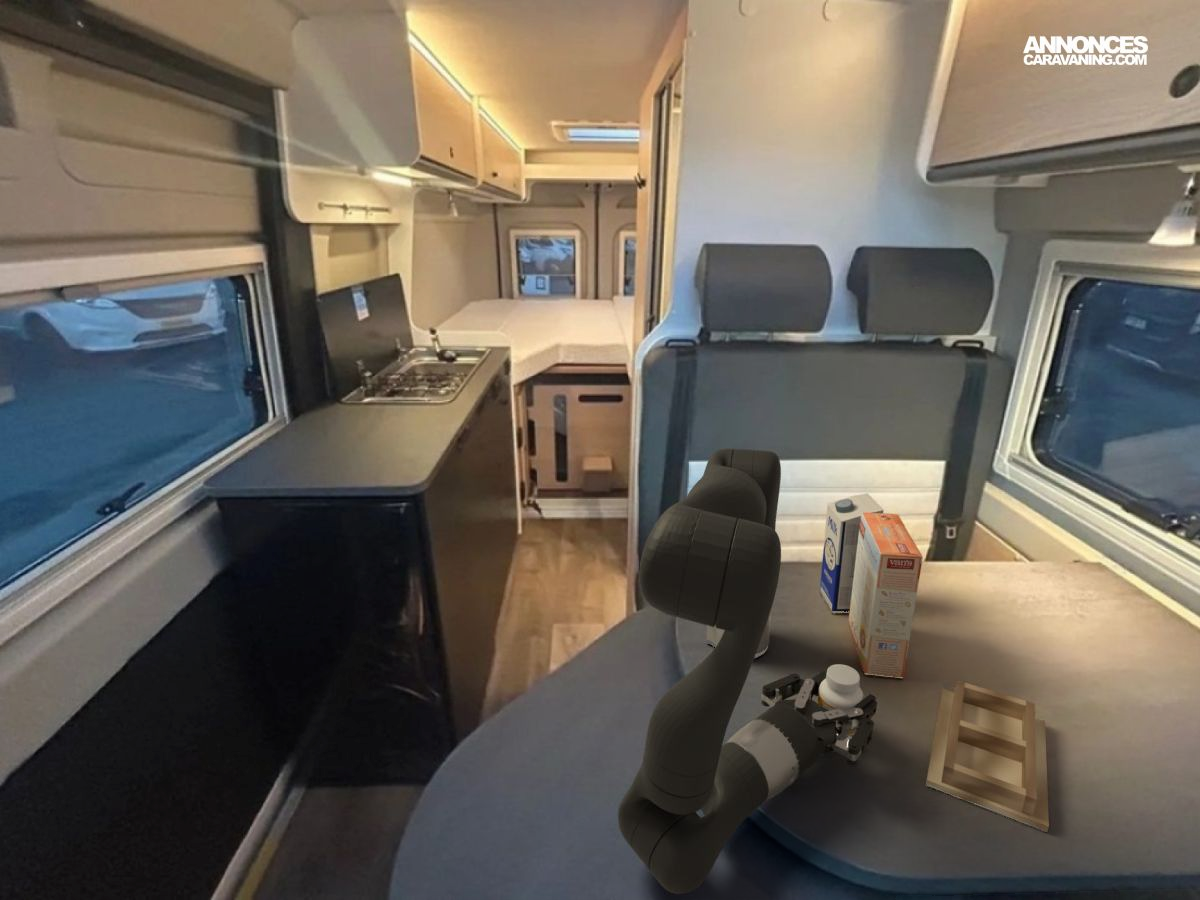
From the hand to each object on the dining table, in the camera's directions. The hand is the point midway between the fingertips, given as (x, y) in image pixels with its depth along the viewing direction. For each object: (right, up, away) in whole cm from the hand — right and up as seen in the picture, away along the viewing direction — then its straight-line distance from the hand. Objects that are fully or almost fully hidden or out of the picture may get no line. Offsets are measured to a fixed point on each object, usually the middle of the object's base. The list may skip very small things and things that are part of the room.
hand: (851, 688), depth 82 cm
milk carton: (+10, +4, +29) cm, 31 cm away
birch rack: (+16, -7, -4) cm, 18 cm away
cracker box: (+10, 0, +17) cm, 20 cm away
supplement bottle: (-2, -6, +1) cm, 7 cm away
